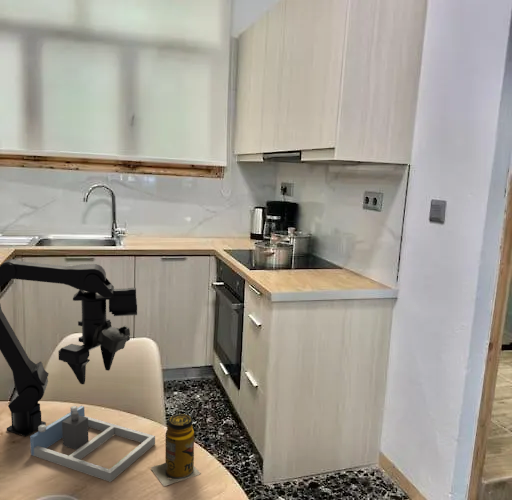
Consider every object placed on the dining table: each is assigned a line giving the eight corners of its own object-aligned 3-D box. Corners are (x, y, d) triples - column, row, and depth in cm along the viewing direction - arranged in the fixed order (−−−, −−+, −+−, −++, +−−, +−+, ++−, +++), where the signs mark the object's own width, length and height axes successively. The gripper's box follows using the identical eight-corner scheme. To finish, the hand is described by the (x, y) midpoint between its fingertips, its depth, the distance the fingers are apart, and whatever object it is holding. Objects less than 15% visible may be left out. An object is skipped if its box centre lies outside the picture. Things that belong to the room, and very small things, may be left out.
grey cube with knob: (62, 445, 117) (61, 415, 116) (75, 437, 121) (74, 408, 119) (76, 450, 115) (75, 419, 114) (88, 441, 119) (87, 411, 118)
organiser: (29, 454, 113) (28, 431, 112) (80, 422, 127) (80, 401, 127) (110, 481, 104) (110, 457, 103) (155, 443, 119) (155, 422, 118)
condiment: (200, 474, 108) (201, 422, 106) (163, 487, 103) (164, 433, 101) (186, 457, 114) (186, 407, 112) (150, 468, 109) (150, 417, 107)
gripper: (94, 333, 112) (95, 399, 114) (144, 311, 129) (144, 369, 131) (55, 325, 116) (57, 389, 119) (109, 305, 133) (110, 361, 136)
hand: (95, 376), depth 126 cm, fingers open, 9 cm apart
